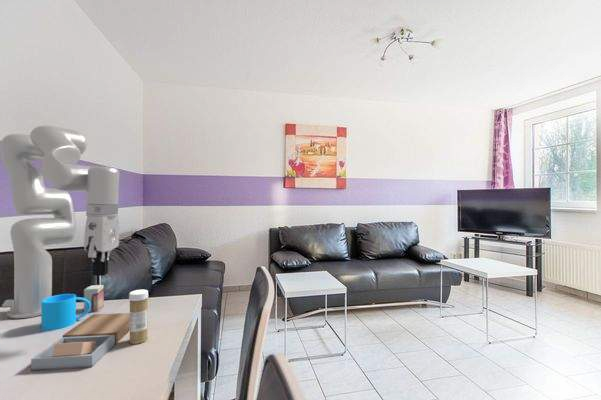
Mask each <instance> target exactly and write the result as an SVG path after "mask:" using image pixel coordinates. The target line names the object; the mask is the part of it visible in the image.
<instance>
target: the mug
mask: <svg viewBox="0 0 601 400" xmlns="http://www.w3.org/2000/svg"><path fill="white" fill-rule="evenodd" d="M77 300H78V301H82V302H83V303H84V302H85V303H86V304H87V309H86V311H85V312H84V311H83V313H82V314H79V315H77ZM90 307H91V305H90V302H89V301H88V300H87V299H85V298H84V297H79V296H77V295H76V294H74V293H63V294H62V293H61V294H57V295H52V296H51V297H48V298H45V299H43V300H42V305H41V315H40V316H41V317H40V318H41V321H40V323H41V324H40V325H41V327H40V328H41V331H42V330H43V331H48V332H49V331H57V330H63V329H65V328H68V327H70V326H72V325H74V324H75V323H76V321H77V320H79V319H82V318H83V317H85V316H86V315H87V314H88V313H89V312H88V311H89V310H90Z"/></svg>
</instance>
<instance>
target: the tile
mask: <svg viewBox="0 0 601 400" xmlns="http://www.w3.org/2000/svg"><path fill="white" fill-rule="evenodd" d="M95 344H96V341H88V342H70V343H61V344H55V345H54V350H53V354H52V356H66V355H81V354H86V353H92V352H93V351H94V349H95Z"/></svg>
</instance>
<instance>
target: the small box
mask: <svg viewBox="0 0 601 400" xmlns="http://www.w3.org/2000/svg"><path fill="white" fill-rule="evenodd" d="M104 286H105V285H104V284H96V285H92V284H91V285H90V286H87V287H86V288H84V289H83V298H85V299H87V300H88V301H89V302H90V305H91V307H90V310H89V311H88V313H92V312H93V313H94V312H98V311H100V310H101V309H102V308H103V307H104V296H105V295H104ZM86 309H87V304H86V303H85V302H84V301H83V313H84V312H85V311H86Z"/></svg>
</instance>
